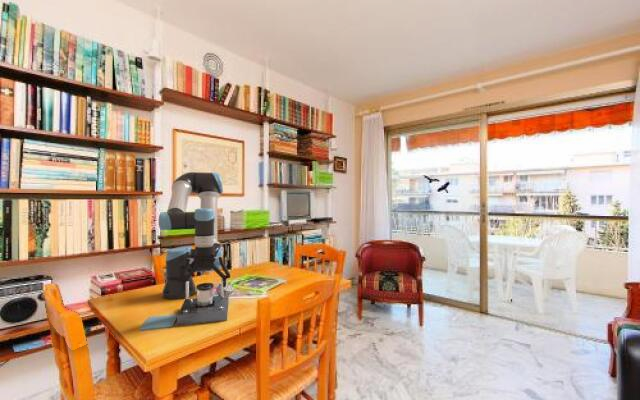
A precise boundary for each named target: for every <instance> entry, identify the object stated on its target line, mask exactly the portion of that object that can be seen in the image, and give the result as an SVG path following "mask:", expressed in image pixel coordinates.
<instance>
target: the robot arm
mask: <svg viewBox="0 0 640 400" xmlns="http://www.w3.org/2000/svg"><path fill="white" fill-rule="evenodd" d="M171 191H172V193H171V196H170V200H169V202H168V203H169V204H168V206H167V209H166V212H161V213H160V214H159V215H158V226H159V227H158V228H159V229H160V230H162V231H181V230H194V245H195V247H194V248H193V247H192V246H191V245H183V246H177V247H174V248H171V249H168V250H167V251H166V253H165V254H166V255H165V283H164V285H163V289H162V292H161V296H162V299H165V300H179V299H180V300H181V299H184V298H185V299H190V298H189V297H192V296H194V295H196V294H197V289H196V284H195V282H194V279H193V274H194V273H200V272H215V273H216V274H217V275H218V276H219V277H220V278H221V279H220V284H221V296H223V287H226V282H227V279H230V278H231V273H230V271H229V270H228V268H227V266H226V264H225V263H224V259H223V255H224V254H223V253H224V247H223V246H221V245H222V244H221V243H220V242H219V241H218V199H219V198H221V195H222V194H223V193H224V190H223V181H222V177H221V174H220V173H218V172H196V171H195V172H194V171H191V172H186V173H184V174H182V175H180V176H179V177H177V178H176V179H175V180H174V181H173V182H172V185H171ZM190 194H197V197H198V198H199V199H200V208H196V209H194V211H192V212H191V211H190V212H188V211H187V207H188V202H189V196H190ZM221 268H222V270H223V272H222V271H221Z"/></svg>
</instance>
